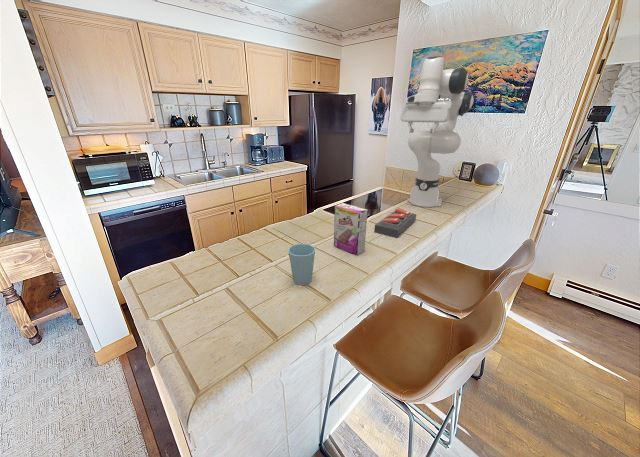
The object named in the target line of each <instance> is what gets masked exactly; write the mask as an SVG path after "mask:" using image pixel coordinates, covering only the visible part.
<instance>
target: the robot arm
mask: <svg viewBox="0 0 640 457" xmlns="http://www.w3.org/2000/svg"><path fill="white" fill-rule="evenodd" d="M444 58H445V57H444V56H440V55H439V56H438V55H437V56H436V55H435V56H429V57H426V58H425V59H424V61H423V64H422V67H421V71H420V77H419V88H418V90H417V93H416V94H414V95H410V96H408V97H406V98H405V100H404V103H405V104H404V106H402V110H401V114H400V120H401V122H403V123H407V126H408V129H409V130H408V133H410V135H409V137H408V139H407V145H408V147H409V150H410V151H412V153H413V154H414V156H415V157H416V159H417V174H416V175H417V176H416V178H415V181H414V182H415V185H414V186H412V188H411V192H410V196H409V197H408V198H407V199H406V201H407V202H408V203H410V204H412V205H414V206H417V207H424V208H431V207H433V208H434V207H442V202H443V198H441V196H439V194H440V189H439V183H440V171H441V165H440V163H439V162H438V161H437V160H435V159H434V158H433V157H432V154H441V155H442V154H443V155H444V154H445V155H446V154H454V153H455V152H457V151H458V149H459V148H460V146H461V143H462V139H461V136H460V134H459V133H458V132H456V131H455V132H454V129H455V128H456V125H457V121H458V117H459V116H460V117H463V116H464V115H465V114H466V113H468V112H469V111H470V110H471V108H472V106H473V105H474V93H472V92H470V91H465V90H466V87H467V86H468V82H469V73H468V70H467V69H466V68H465V67H457V68H450V69H449V68H448V69H444V66H445V59H444ZM413 123H432V125H431V127H430V129H429V130H418V131H414V130H415V128H413V126H412V125H413Z"/></svg>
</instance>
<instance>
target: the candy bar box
mask: <svg viewBox="0 0 640 457" xmlns="http://www.w3.org/2000/svg"><path fill="white" fill-rule="evenodd" d="M367 220H368V209H366V208H362V207H359V206H355V205H351V204H348V203H344V202H342V203H339V204H336V205H334V222H333V223H334V227H333V228H334V229H333V231H334V232H333V247H334V248H337V249H339V250H342V251H344V252H346V253H347V252H348V253H350V254H352V255H355V256H359V255H361V254H362V253H364V252H365V251H366V250H365V248H366V232H367Z"/></svg>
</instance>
